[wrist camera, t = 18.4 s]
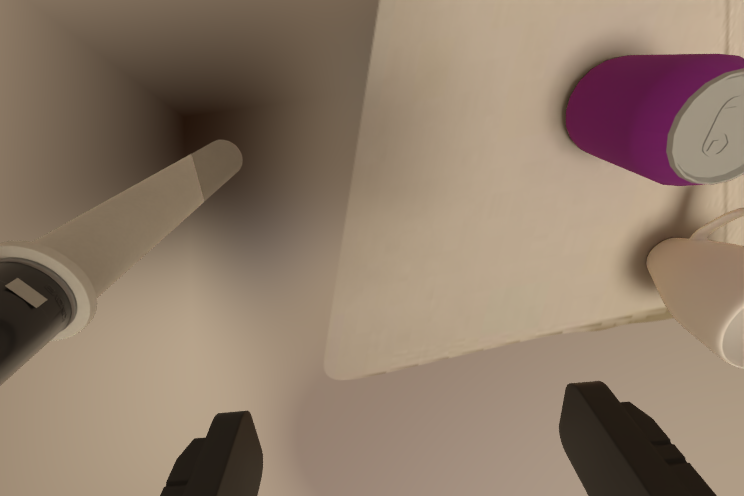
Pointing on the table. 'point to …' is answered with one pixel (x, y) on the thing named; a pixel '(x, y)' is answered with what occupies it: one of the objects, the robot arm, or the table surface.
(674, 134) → the beverage can
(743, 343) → the mug
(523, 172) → the table surface
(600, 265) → the table surface
